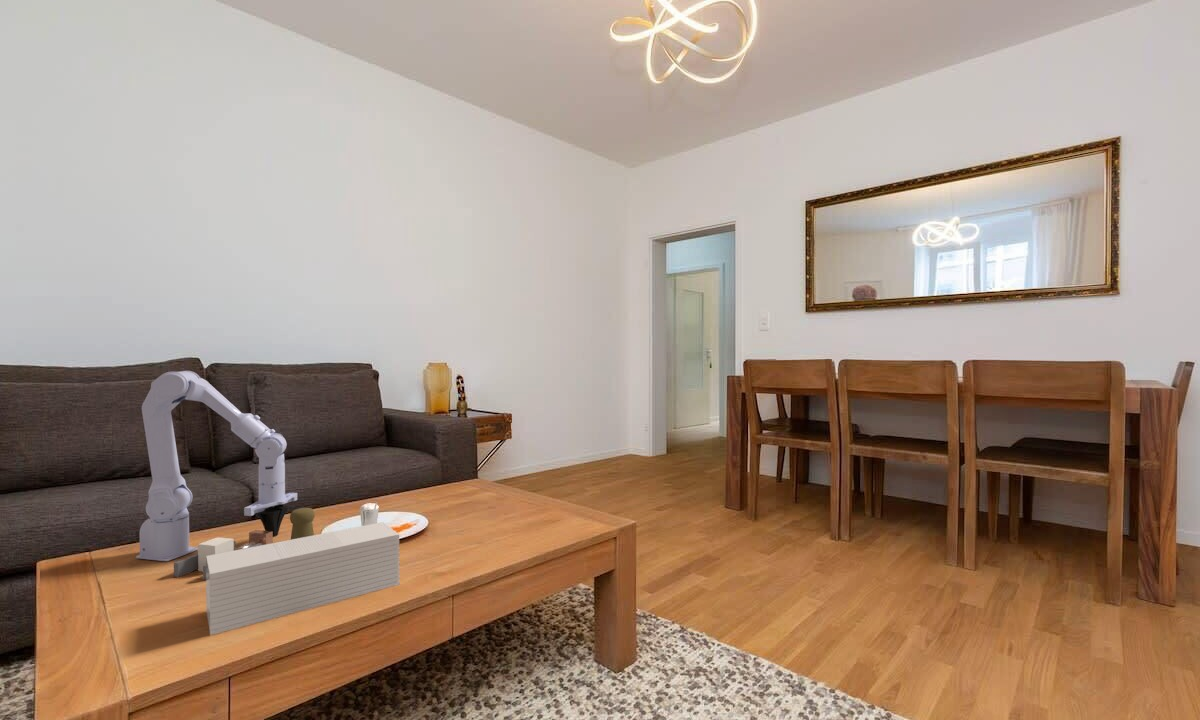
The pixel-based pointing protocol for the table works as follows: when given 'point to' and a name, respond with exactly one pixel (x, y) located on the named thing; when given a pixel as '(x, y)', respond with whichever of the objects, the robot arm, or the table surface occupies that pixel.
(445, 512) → the table surface
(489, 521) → the table surface
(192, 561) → the track
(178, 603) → the table surface
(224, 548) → the block
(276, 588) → the stack of papers
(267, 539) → the ram
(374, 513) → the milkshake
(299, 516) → the cork
